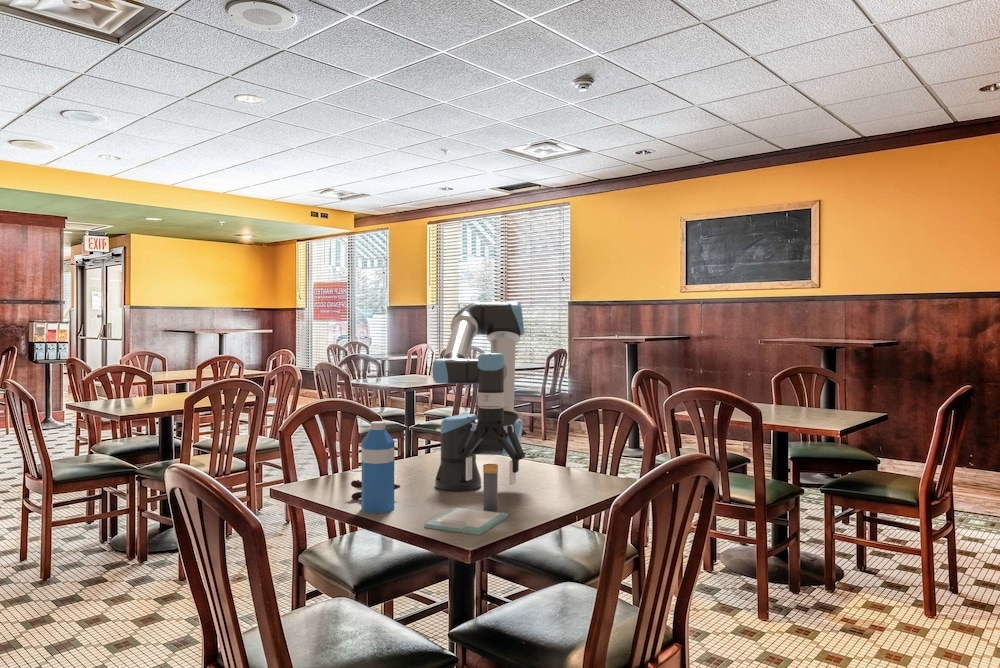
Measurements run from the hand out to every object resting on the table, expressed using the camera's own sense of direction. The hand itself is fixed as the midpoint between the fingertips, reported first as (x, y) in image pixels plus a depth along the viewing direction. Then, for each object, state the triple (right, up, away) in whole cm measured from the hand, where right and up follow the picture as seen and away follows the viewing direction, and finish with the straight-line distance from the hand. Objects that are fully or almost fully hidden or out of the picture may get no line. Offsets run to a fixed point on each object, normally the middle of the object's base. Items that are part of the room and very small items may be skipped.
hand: (490, 481), depth 193 cm
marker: (0, -8, +1) cm, 8 cm away
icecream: (-35, -8, +13) cm, 38 cm away
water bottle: (-32, -8, +1) cm, 33 cm away
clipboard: (-6, -8, -11) cm, 15 cm away
